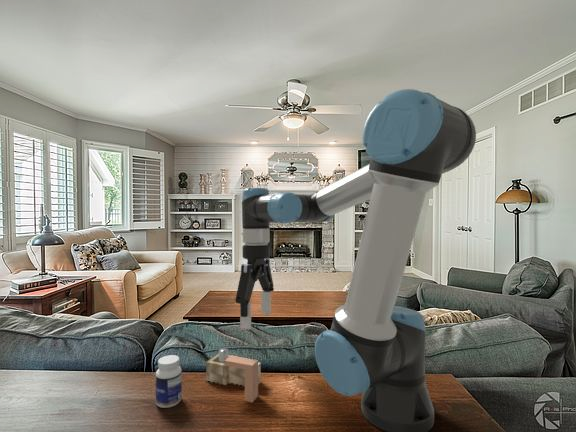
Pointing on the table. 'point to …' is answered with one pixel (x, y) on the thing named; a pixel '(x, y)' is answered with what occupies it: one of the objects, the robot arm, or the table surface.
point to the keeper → (246, 374)
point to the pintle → (223, 355)
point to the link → (226, 372)
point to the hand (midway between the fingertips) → (256, 320)
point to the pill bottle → (168, 382)
